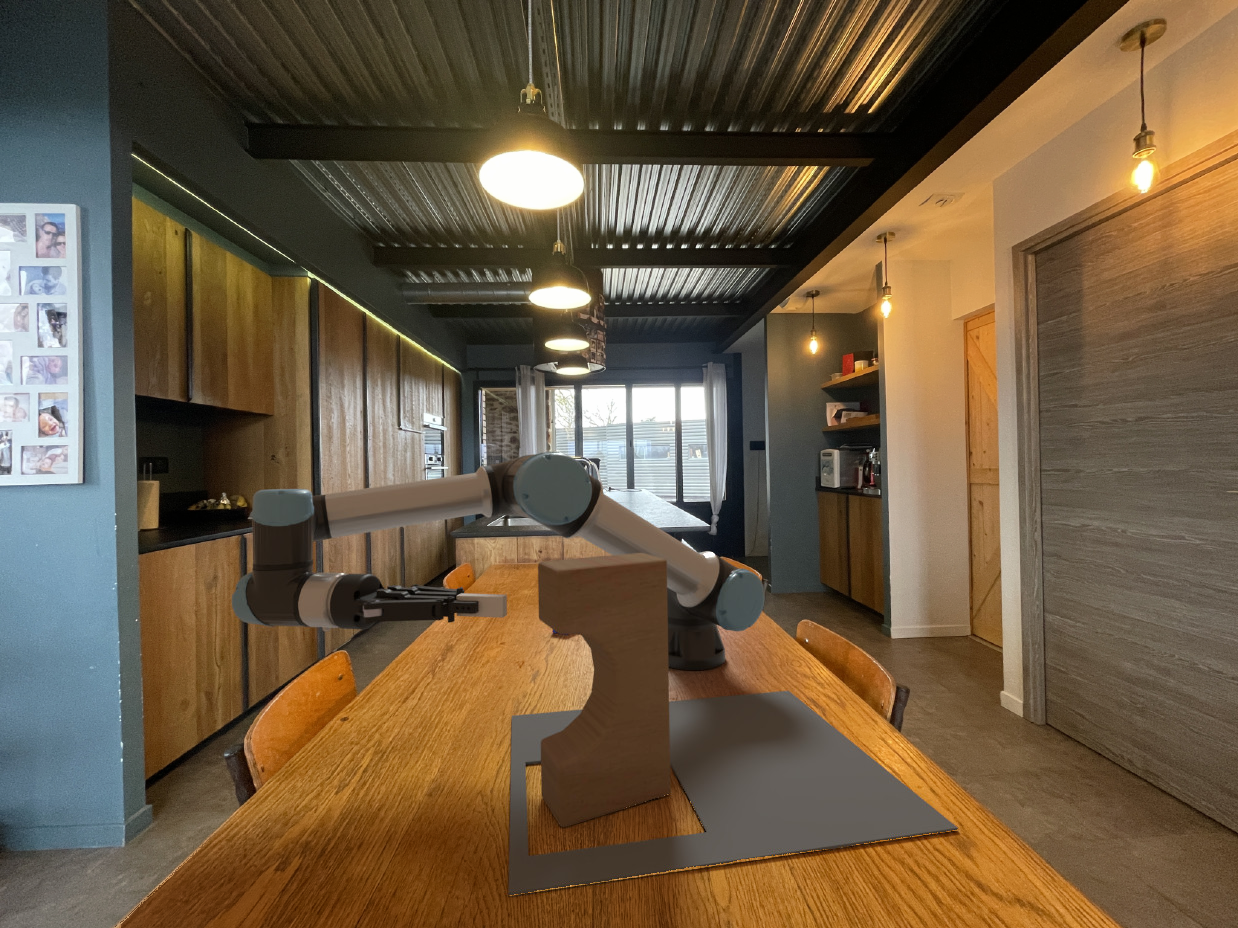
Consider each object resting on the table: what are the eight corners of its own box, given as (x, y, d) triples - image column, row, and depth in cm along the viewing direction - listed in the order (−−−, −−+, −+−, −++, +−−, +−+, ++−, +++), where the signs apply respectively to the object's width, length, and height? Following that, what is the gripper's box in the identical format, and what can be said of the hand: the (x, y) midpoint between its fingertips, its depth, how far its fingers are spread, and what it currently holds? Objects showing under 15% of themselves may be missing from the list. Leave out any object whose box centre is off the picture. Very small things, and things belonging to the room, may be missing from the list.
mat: (788, 692, 105) (788, 690, 105) (958, 831, 65) (957, 827, 65) (511, 717, 96) (511, 715, 96) (508, 896, 56) (508, 892, 56)
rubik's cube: (563, 628, 151) (563, 609, 151) (579, 630, 148) (579, 611, 148) (552, 633, 146) (552, 614, 147) (568, 635, 144) (568, 616, 144)
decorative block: (560, 829, 66) (556, 570, 66) (540, 796, 73) (536, 561, 73) (672, 795, 73) (668, 559, 73) (643, 768, 79) (640, 552, 80)
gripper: (372, 615, 86) (521, 621, 82) (312, 641, 74) (485, 649, 70) (372, 566, 87) (521, 569, 82) (312, 582, 74) (484, 587, 70)
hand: (504, 605), depth 76 cm, fingers closed
